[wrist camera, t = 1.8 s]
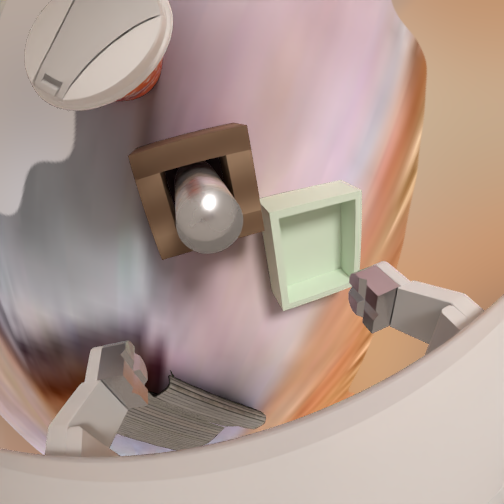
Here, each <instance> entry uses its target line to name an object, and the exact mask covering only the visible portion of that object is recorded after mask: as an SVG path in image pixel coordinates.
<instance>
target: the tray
mask: <svg viewBox="0 0 504 504" xmlns="http://www.w3.org/2000/svg"><path fill="white" fill-rule="evenodd" d="M260 205H261V211H262V217H263V223H264V229H265V231H262V234H263V240H264V246H265V252H266V258H267V264H268V270H269V276H270V283H271V289H272V292H273V294H274V296H275V297H276V299H277V301H278V303H279V305H280V307H281V308H282V310H283V311H285V310H288V309H291V308H294V307H297V306H300V305H303V304H306V303H308V302H311V301H314V300H317V299H320V298H322V297H325V296H328V295H331V294H333V293H336V292H339V291H341V290H344V289H347V288H349V287H352V285H351V284H350V283H349V277H350V275H351V274H352V273H354V272H357V271H359V269H360V252H361V222H362V190H360V189H358V188H356V187H354V186H352V185H350V184H348V183H346V182H344V181H342V180H339V181H334V182H329V183H325V184H320V185H315V186H311V187H306V188H302V189H298V190H293V191H289V192H285V193H280V194H276V195H272V196H268V197H264V198H260Z"/></svg>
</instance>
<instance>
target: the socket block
mask: <svg viewBox="0 0 504 504" xmlns="http://www.w3.org/2000/svg"><path fill="white" fill-rule="evenodd" d="M216 157H219V162H220V166H221V171H222V176H223V180H224V184H225V186H226V187H227V189H228V190H229V192H230V193H231V194H232V196H233V197H234V199H235V200H236V202H237V203H238V204H239V206H240V208H241V210H242V214H243V227H242V230H241V233H240V235H239V236H238V238H241V237H244V236H248V235H251V234H255V233H259V232H262V231H265V229H264V223H263V217H262V211H261V205H260V199H259V193H258V187H257V181H256V175H255V169H254V163H253V157H252V152H251V146H250V140H249V135H248V129H247V125H243V124H237V123H230V124H225V125H221V126H216V127H212V128H207V129H203V130H199V131H195V132H191V133H187V134H183V135H179V136H176V137H172V138H168V139H165V140H161V141H158V142H155V143H151V144H148V145H145V146H142V147H139V148H136V149H135V150H134V151H133V152H132V153H131V154H130V155H129V156H128V158H129V161H130V165H131V168H132V172H133V175H134V179H135V182H136V185H137V188H138V192H139V195H140V198H141V201H142V204H143V207H144V210H145V213H146V216H147V219H148V222H149V225H150V228H151V231H152V234H153V237H154V239H155V242H156V245H157V248H158V250H159V253H160V256H161V258H162V260H164V259H167V258H171V257H174V256H177V255H181V254H184V253H188V252H191V251H193V250H191V249H190V248H188V247H187V246H186V245H185V244H184V243H183V242H182V241H181V239H180V238H179V236H178V233H177V229H176V212H175V206H174V203H173V199H172V196H171V192H170V189H169V185H168V181H167V178H166V174H165V171H167V170H171V169H174V168H178V167H181V166H185V165H189V164H192V163H196V162H200V161H204V160H208V159H212V158H216Z"/></svg>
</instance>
